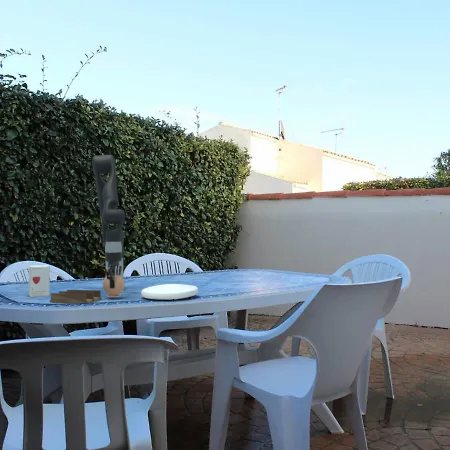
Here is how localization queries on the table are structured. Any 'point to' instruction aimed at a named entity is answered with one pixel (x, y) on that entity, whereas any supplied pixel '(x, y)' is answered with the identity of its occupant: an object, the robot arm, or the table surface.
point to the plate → (169, 291)
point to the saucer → (118, 286)
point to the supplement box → (39, 280)
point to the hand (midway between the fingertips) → (113, 287)
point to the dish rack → (76, 296)
